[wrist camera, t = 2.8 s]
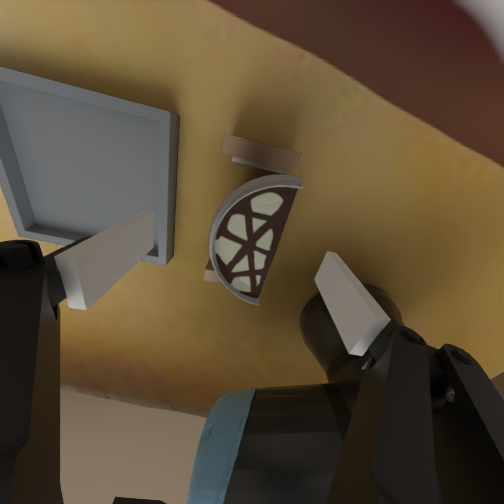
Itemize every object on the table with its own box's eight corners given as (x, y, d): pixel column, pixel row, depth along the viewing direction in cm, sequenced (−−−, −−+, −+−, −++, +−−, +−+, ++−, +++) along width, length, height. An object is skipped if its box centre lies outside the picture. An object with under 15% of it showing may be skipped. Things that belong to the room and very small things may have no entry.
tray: (179, 116, 20) (170, 111, 18) (173, 256, 27) (166, 265, 25) (-10, 66, 18) (-46, 54, 16) (39, 229, 26) (18, 236, 24)
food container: (233, 154, 21) (218, 153, 13) (285, 170, 22) (306, 179, 13) (214, 249, 27) (194, 296, 18) (256, 259, 27) (257, 309, 19)
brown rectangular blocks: (292, 154, 21) (301, 153, 17) (258, 269, 28) (259, 290, 24) (230, 137, 21) (223, 132, 16) (211, 260, 28) (203, 280, 23)
